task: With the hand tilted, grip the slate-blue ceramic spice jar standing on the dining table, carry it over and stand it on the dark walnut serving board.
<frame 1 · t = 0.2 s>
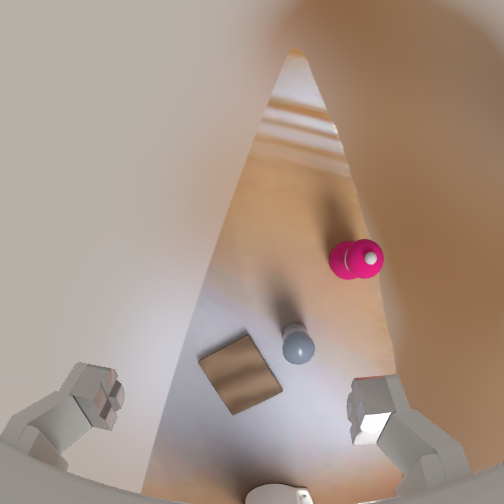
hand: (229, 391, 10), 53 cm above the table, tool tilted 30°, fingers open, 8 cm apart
pepper mill: (343, 260, 62), on the table
spice jar: (295, 335, 62), on the table
walnut board: (240, 375, 63), on the table
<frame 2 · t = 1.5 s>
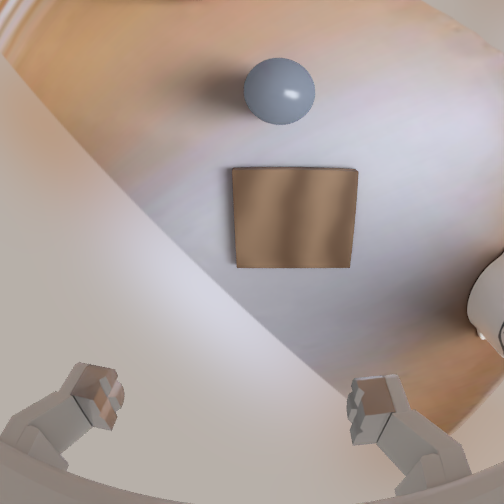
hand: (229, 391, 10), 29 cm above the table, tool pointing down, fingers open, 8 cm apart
spice jar: (276, 97, 32), on the table
walnut board: (294, 216, 37), on the table
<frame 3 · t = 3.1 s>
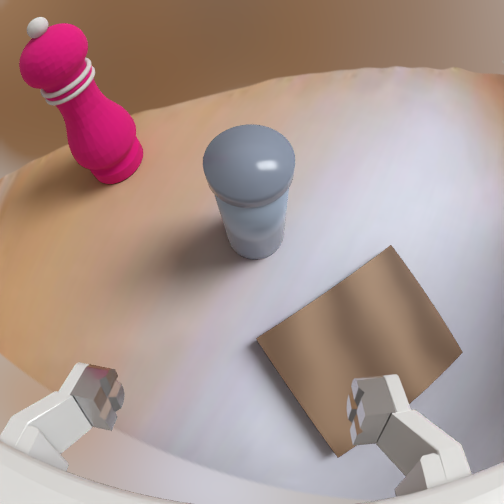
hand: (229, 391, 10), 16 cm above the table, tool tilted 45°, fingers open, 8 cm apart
pepper mill: (118, 162, 32), on the table
spice jar: (255, 232, 28), on the table
walnut board: (365, 350, 24), on the table
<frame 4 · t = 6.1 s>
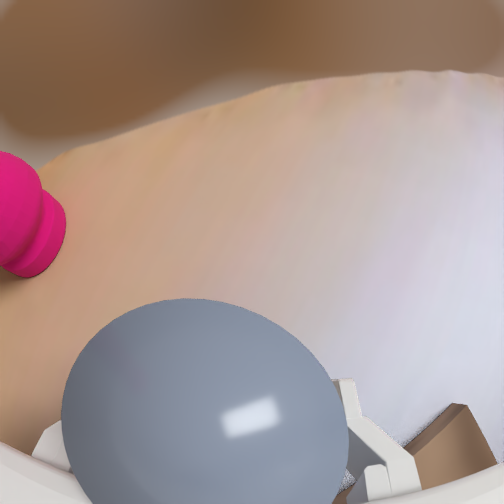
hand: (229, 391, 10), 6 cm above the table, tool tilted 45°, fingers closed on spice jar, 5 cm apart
pepper mill: (36, 237, 19), on the table
spice jar: (243, 392, 15), on the table, touching gripper
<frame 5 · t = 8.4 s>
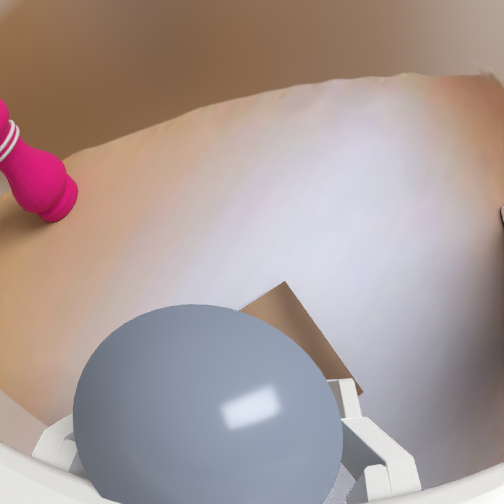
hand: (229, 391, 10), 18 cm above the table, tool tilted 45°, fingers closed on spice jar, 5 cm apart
pepper mill: (59, 201, 34), on the table
spice jar: (244, 392, 15), point 11 cm above the table, touching gripper
walnut board: (256, 382, 26), on the table
when the fingers open (9 cm above the table, at t = 10.5 s): spice jar stays where it is, resting on walnut board.
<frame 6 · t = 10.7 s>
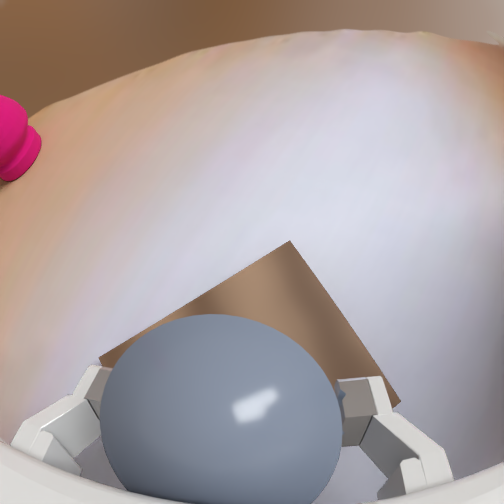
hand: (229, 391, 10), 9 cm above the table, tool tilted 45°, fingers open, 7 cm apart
pepper mill: (21, 158, 26), on the table
spice jar: (245, 390, 16), point 2 cm above the table, touching walnut board
walnut board: (246, 388, 18), on the table
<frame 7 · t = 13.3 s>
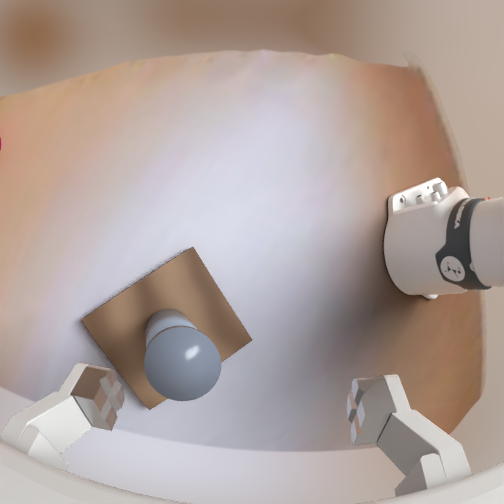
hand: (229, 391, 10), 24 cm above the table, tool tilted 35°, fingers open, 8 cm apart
spice jar: (169, 332, 31), point 2 cm above the table, touching walnut board
walnut board: (167, 329, 32), on the table
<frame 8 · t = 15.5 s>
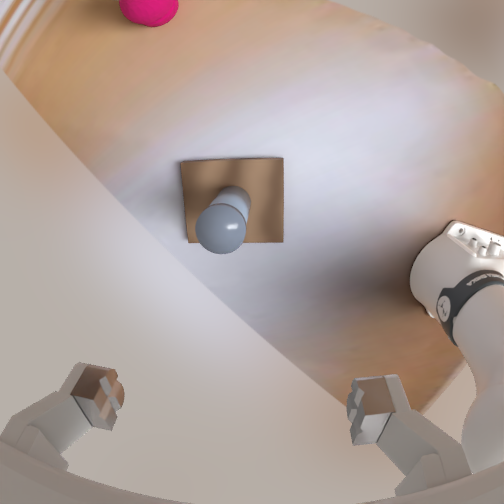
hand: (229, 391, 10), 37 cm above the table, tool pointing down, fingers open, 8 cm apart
pepper mill: (158, 9, 33), on the table
spice jar: (233, 203, 44), point 2 cm above the table, touching walnut board
walnut board: (234, 199, 45), on the table
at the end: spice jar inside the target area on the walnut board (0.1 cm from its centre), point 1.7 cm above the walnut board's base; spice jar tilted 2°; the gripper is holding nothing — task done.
